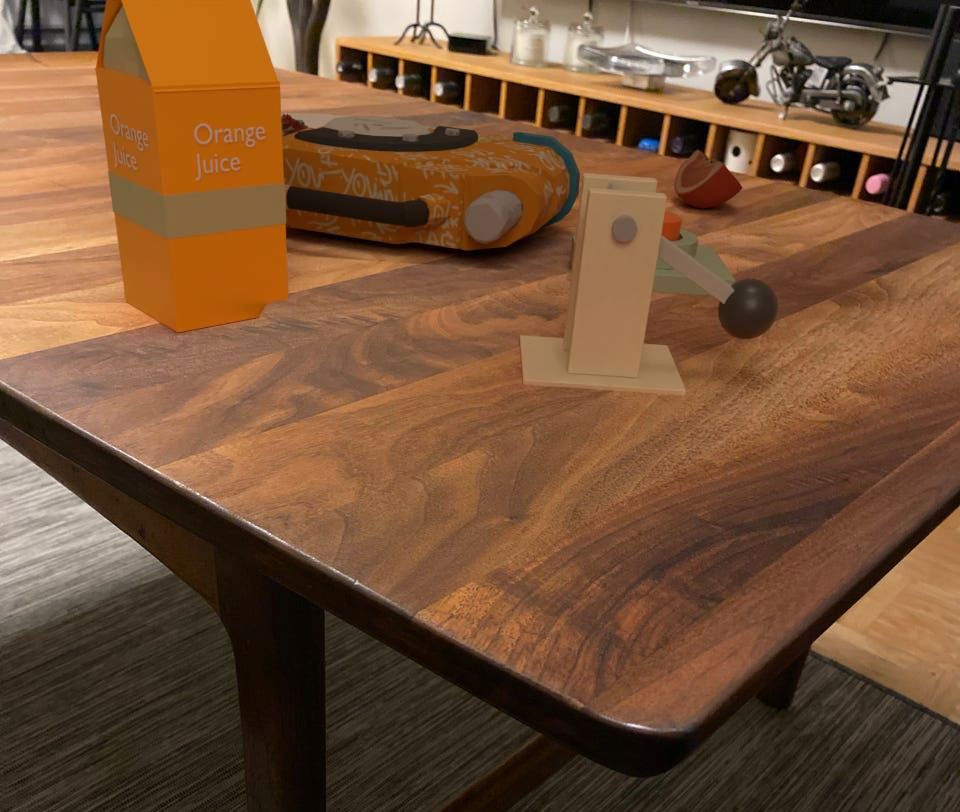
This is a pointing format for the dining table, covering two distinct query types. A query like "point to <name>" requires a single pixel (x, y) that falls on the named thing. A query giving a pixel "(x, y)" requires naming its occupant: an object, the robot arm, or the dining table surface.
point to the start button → (671, 226)
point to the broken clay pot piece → (705, 182)
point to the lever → (726, 292)
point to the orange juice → (194, 159)
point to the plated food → (304, 121)
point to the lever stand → (609, 297)
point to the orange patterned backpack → (425, 182)
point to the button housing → (675, 281)
